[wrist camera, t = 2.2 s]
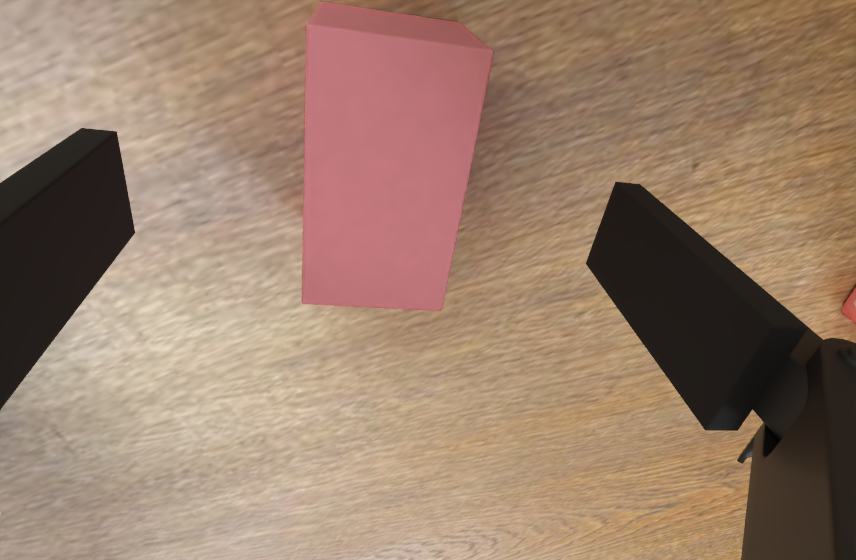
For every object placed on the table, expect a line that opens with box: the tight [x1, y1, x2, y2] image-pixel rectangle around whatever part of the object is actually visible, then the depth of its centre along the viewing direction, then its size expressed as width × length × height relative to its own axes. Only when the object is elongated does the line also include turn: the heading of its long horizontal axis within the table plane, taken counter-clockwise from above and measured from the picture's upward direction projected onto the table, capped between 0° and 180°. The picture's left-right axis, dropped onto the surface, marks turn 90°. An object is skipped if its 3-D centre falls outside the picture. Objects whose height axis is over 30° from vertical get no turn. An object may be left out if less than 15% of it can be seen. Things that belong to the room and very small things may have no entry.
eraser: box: [302, 1, 494, 311], centre depth 16 cm, size 8×4×5 cm, turn 171°
